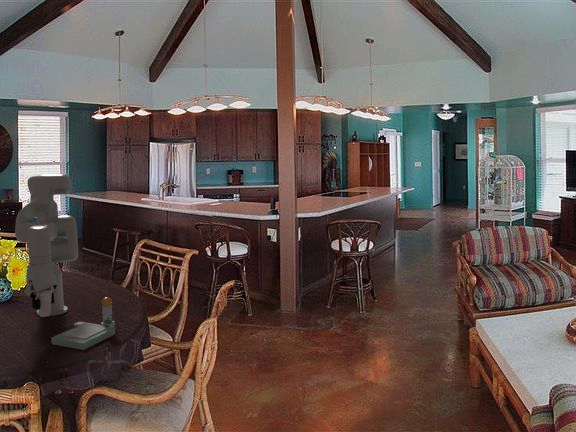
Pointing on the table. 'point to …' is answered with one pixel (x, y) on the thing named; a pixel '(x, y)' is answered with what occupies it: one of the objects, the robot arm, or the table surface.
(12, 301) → the table surface
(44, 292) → the smoothie
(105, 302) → the lever
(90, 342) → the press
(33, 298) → the robot arm
